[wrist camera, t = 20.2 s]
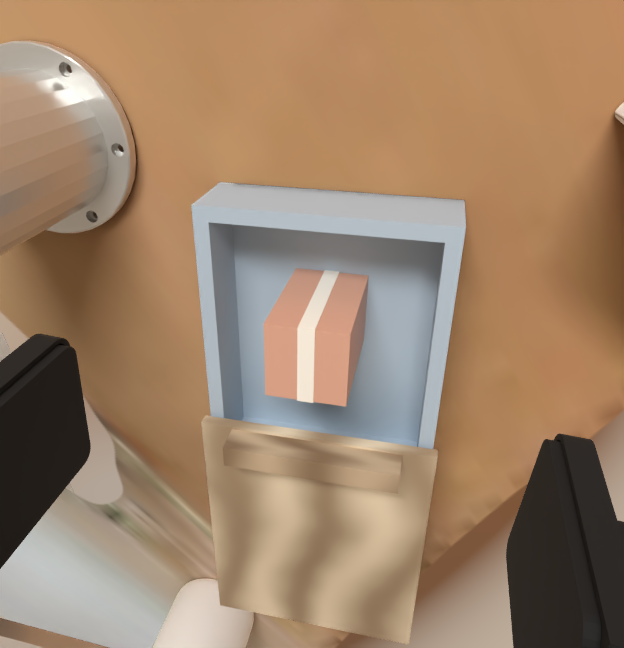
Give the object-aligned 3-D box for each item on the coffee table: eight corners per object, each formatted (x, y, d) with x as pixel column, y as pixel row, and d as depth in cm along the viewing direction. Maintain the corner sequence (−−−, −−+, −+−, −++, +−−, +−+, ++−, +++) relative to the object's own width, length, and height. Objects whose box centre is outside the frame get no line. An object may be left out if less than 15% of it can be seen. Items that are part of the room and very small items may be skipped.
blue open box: (235, 418, 49) (214, 458, 45) (220, 182, 39) (191, 205, 35) (429, 447, 46) (426, 493, 42) (464, 200, 36) (465, 227, 32)
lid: (223, 597, 52) (212, 626, 50) (205, 415, 42) (190, 440, 40) (409, 635, 50) (406, 667, 47) (437, 449, 39) (436, 479, 37)
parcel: (296, 267, 40) (263, 323, 33) (368, 274, 39) (350, 334, 32) (295, 331, 43) (265, 396, 36) (364, 339, 42) (346, 407, 35)
